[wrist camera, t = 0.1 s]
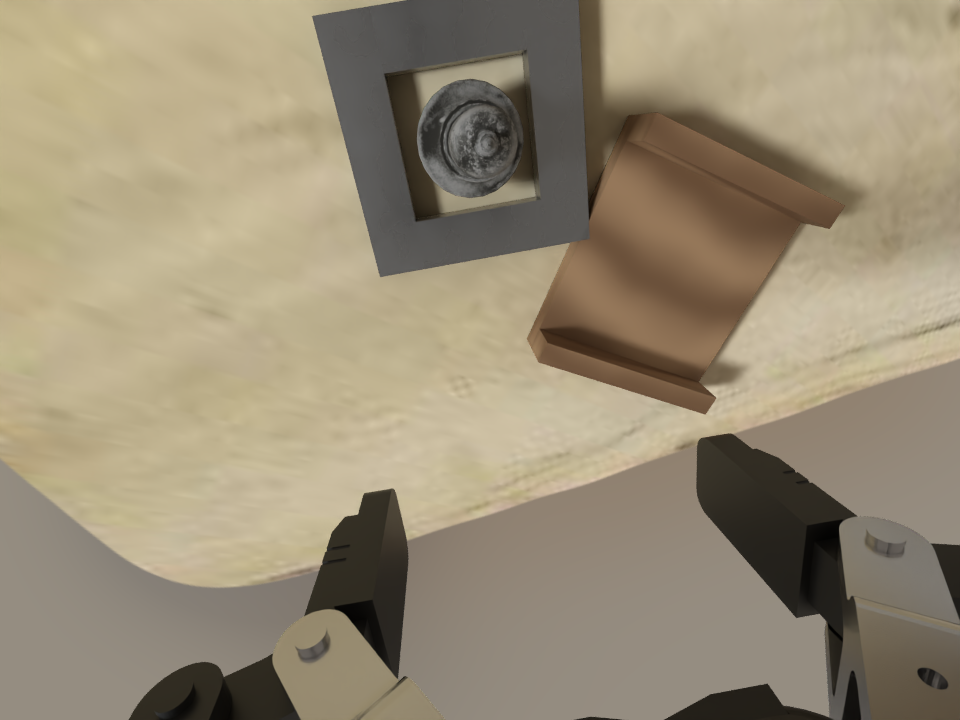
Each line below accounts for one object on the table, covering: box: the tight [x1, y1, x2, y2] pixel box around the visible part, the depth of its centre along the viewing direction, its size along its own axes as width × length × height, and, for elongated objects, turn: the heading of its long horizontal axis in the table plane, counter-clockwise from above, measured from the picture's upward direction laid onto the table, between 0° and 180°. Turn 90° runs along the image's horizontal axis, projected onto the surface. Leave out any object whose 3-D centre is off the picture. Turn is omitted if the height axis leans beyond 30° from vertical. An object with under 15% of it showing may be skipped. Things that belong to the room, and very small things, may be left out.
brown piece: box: [527, 113, 845, 414], centre depth 32 cm, size 16×14×4 cm
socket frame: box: [312, 0, 590, 277], centre depth 28 cm, size 14×14×2 cm
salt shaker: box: [417, 79, 524, 198], centre depth 23 cm, size 6×6×12 cm
